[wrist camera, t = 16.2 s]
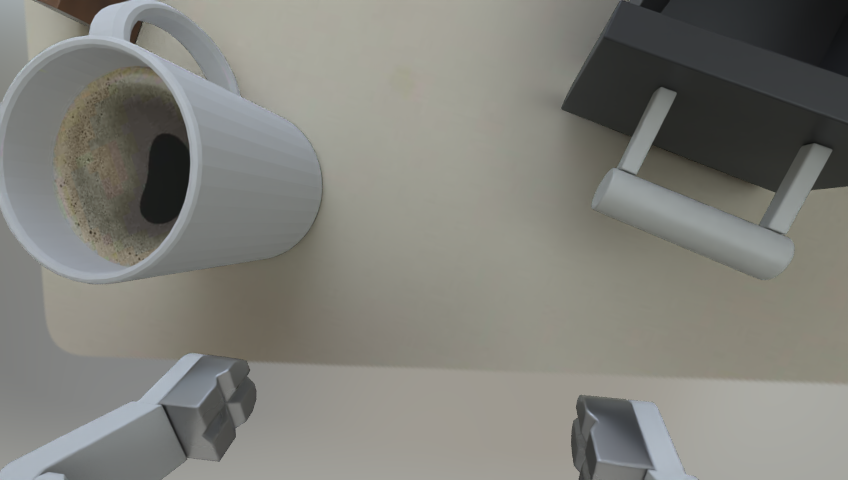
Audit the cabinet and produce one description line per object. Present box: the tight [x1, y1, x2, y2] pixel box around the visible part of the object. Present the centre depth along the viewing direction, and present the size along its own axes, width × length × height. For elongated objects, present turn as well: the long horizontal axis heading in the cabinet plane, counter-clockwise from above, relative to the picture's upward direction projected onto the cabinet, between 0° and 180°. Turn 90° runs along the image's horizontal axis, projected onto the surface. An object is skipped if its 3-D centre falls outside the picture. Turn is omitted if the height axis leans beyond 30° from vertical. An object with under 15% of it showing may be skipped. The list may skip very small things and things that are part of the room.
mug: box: [0, 0, 322, 284], centre depth 19 cm, size 11×10×10 cm
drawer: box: [561, 0, 848, 280], centre depth 15 cm, size 17×11×8 cm, turn 156°
